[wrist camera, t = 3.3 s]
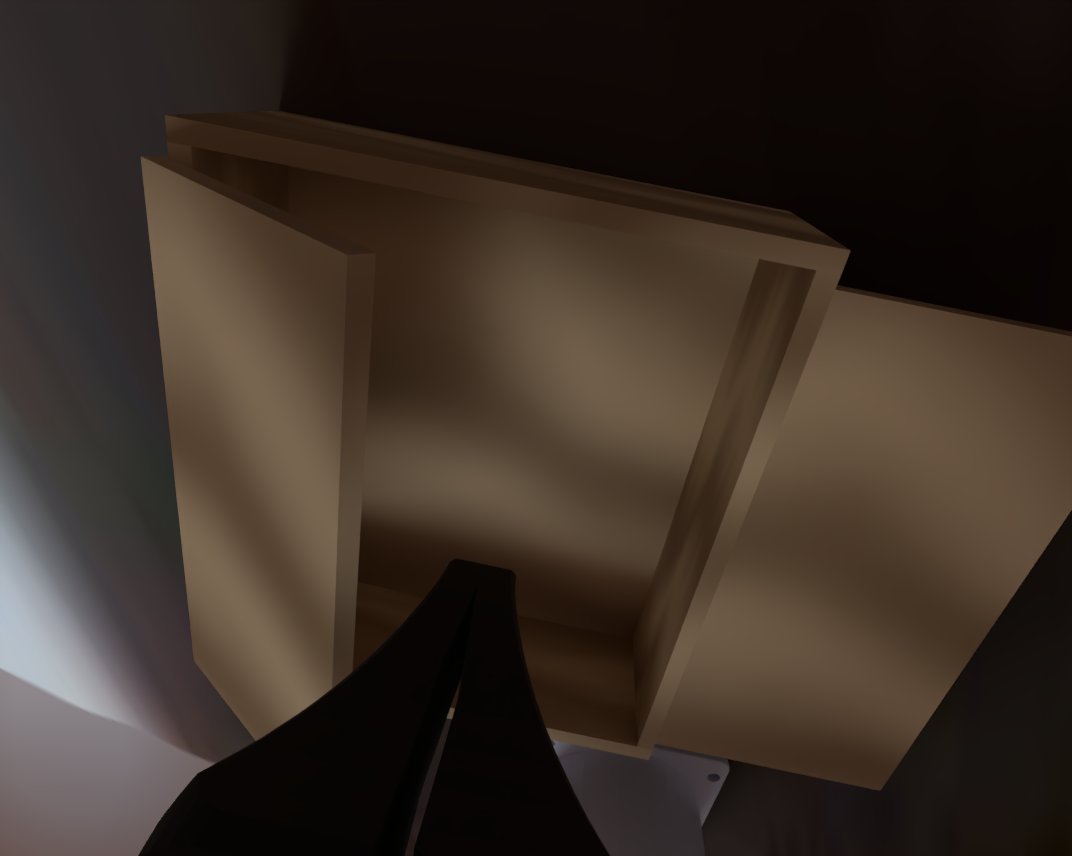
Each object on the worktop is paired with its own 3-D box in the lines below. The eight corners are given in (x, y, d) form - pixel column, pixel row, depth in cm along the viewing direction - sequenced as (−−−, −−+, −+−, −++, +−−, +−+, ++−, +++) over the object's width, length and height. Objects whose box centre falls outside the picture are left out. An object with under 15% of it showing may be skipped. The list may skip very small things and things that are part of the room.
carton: (823, 678, 25) (869, 806, 20) (283, 567, 25) (213, 668, 20) (1049, 262, 17) (1200, 319, 13) (278, 110, 17) (165, 114, 13)
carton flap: (344, 818, 16) (326, 832, 16) (210, 652, 20) (193, 660, 20) (376, 252, 10) (347, 255, 9) (166, 157, 13) (140, 155, 13)
